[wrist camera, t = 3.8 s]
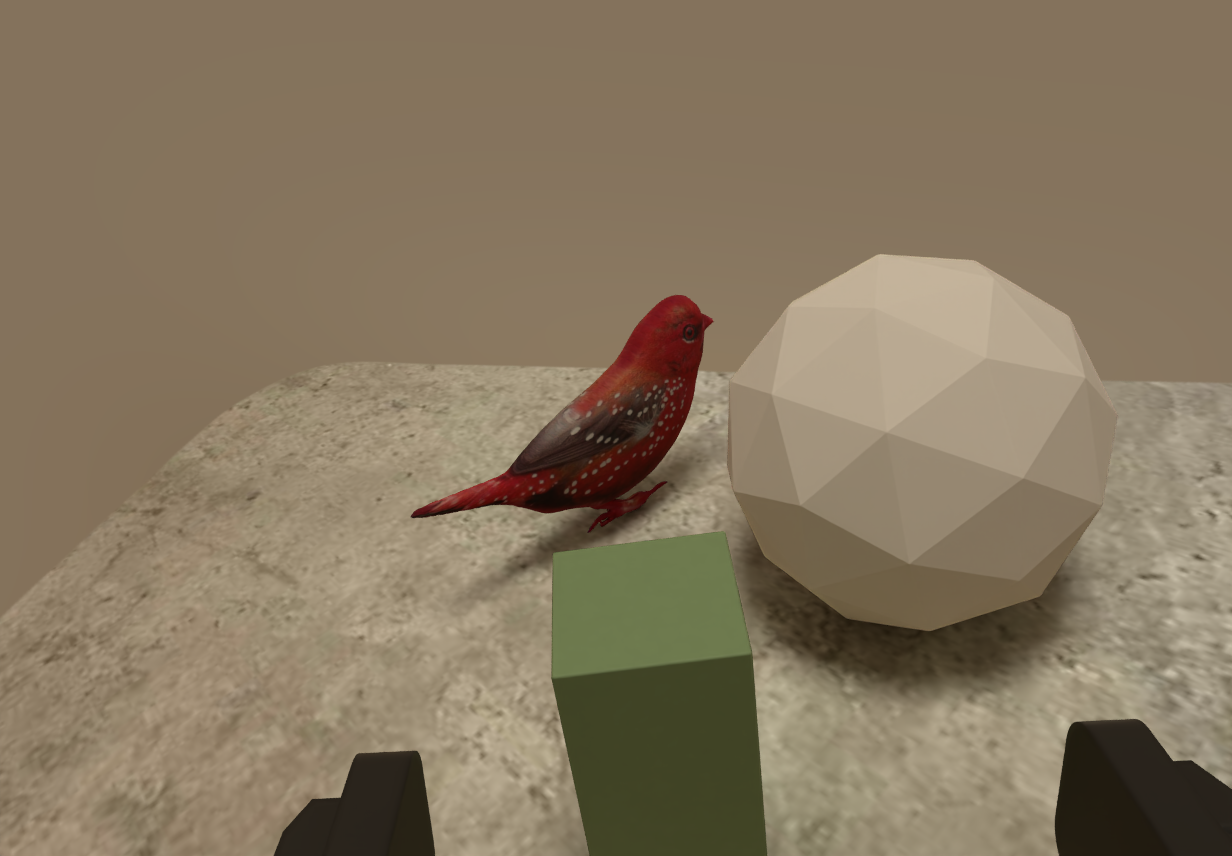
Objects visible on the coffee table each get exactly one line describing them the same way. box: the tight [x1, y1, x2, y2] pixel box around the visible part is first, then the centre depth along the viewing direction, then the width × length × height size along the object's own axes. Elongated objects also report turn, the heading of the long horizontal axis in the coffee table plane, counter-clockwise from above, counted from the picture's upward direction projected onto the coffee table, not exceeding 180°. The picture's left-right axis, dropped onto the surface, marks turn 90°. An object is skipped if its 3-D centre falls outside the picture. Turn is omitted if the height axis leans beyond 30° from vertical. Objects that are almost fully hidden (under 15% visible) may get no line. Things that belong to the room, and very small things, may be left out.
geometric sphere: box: [727, 254, 1118, 631], centre depth 41 cm, size 14×15×15 cm
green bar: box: [551, 531, 767, 856], centre depth 31 cm, size 5×5×12 cm
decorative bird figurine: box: [411, 295, 713, 533], centre depth 48 cm, size 3×18×10 cm, turn 131°
